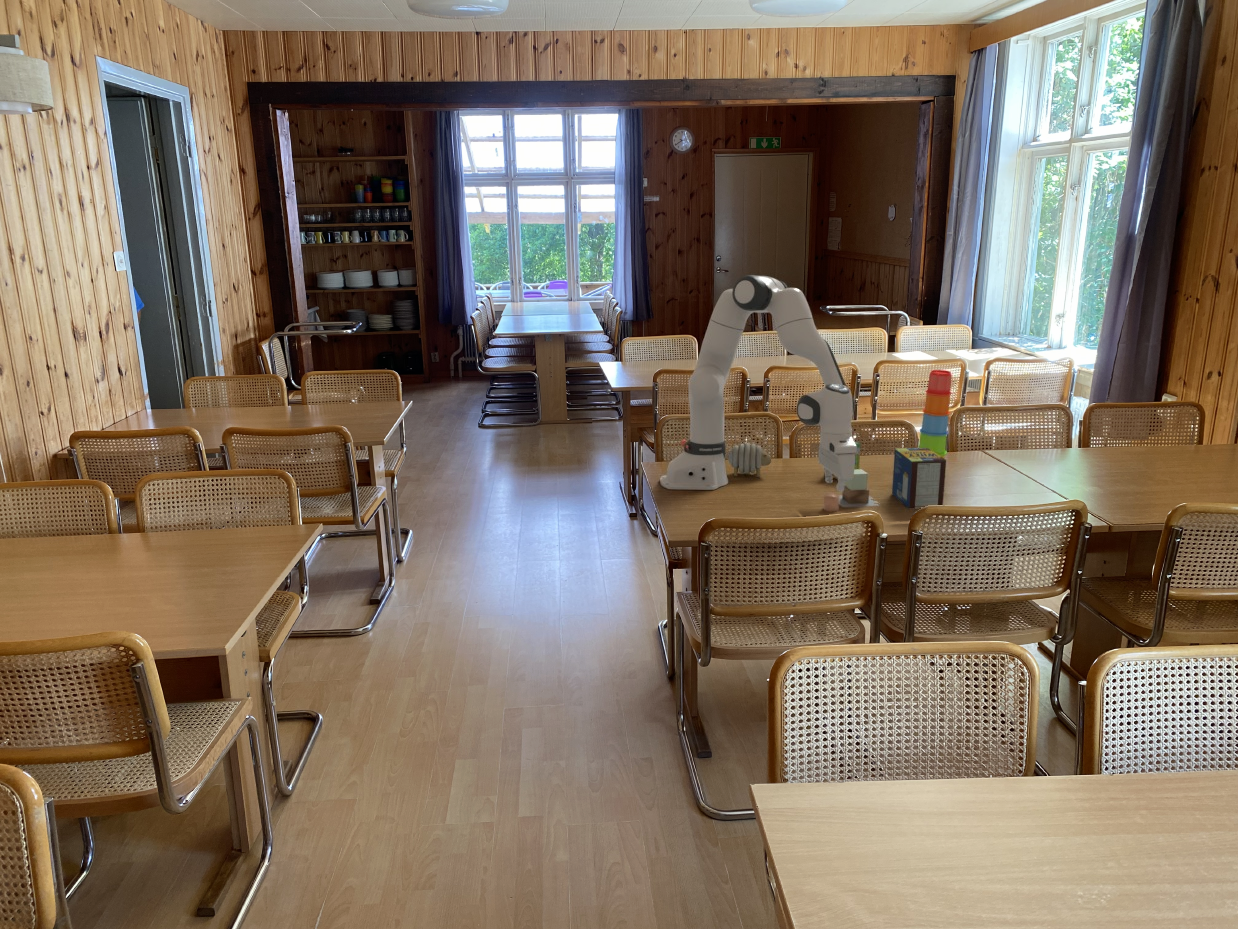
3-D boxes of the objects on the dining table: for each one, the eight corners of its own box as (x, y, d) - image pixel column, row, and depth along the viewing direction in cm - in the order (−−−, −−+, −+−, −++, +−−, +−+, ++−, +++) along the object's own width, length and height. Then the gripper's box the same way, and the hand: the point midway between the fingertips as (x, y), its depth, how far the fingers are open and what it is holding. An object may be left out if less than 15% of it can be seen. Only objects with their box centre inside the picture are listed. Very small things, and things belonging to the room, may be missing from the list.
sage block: (850, 490, 270) (851, 474, 268) (845, 485, 274) (845, 469, 273) (866, 489, 270) (867, 473, 269) (860, 485, 275) (861, 469, 274)
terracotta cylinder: (825, 514, 264) (826, 498, 262) (821, 509, 268) (821, 493, 266) (840, 513, 264) (841, 497, 263) (835, 509, 268) (836, 493, 267)
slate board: (842, 509, 267) (842, 507, 267) (829, 498, 279) (829, 495, 278) (881, 508, 268) (881, 505, 268) (866, 496, 280) (867, 493, 280)
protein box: (924, 495, 280) (927, 447, 276) (943, 510, 265) (947, 460, 261) (890, 496, 280) (894, 447, 276) (907, 511, 265) (911, 460, 261)
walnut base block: (849, 503, 270) (849, 491, 269) (842, 497, 276) (842, 485, 275) (868, 502, 271) (869, 490, 270) (861, 497, 276) (861, 484, 275)
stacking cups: (940, 467, 310) (949, 368, 301) (948, 476, 301) (957, 373, 292) (910, 467, 311) (917, 368, 302) (916, 475, 302) (924, 373, 293)
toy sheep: (771, 479, 300) (772, 447, 297) (720, 478, 301) (721, 446, 298) (769, 471, 310) (770, 439, 307) (720, 470, 311) (720, 439, 308)
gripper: (813, 433, 270) (812, 478, 274) (837, 449, 250) (836, 497, 254) (833, 432, 271) (832, 476, 274) (859, 448, 251) (857, 495, 255)
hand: (834, 486), depth 264 cm, fingers open, 8 cm apart
